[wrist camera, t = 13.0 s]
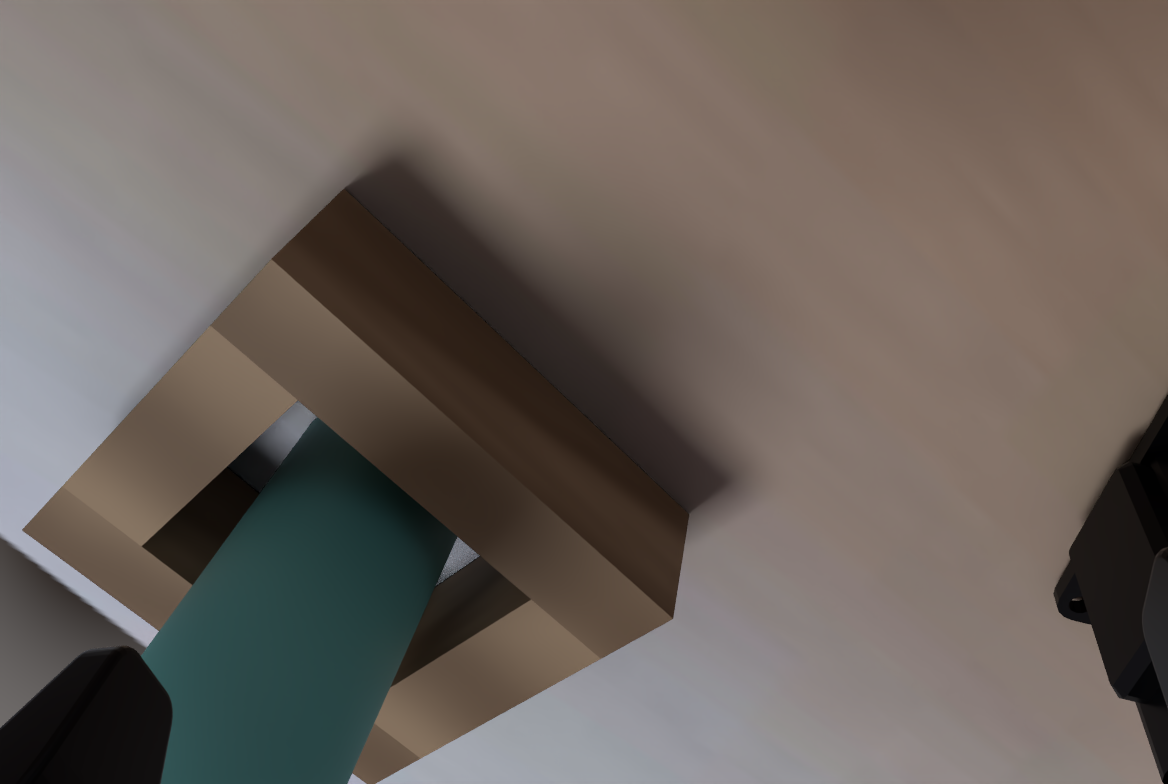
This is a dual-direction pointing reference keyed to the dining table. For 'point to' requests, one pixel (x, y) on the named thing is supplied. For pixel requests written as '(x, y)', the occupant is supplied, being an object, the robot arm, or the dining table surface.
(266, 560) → the peg
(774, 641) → the dining table surface
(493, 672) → the block
